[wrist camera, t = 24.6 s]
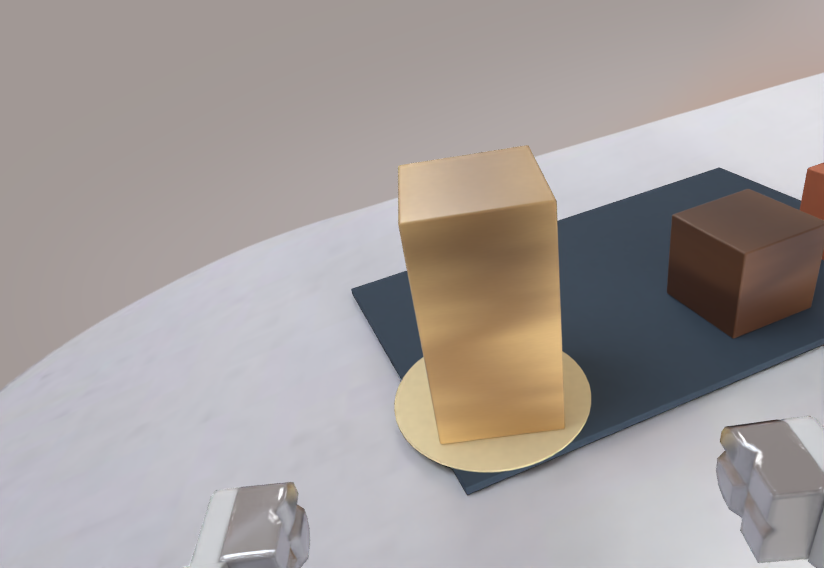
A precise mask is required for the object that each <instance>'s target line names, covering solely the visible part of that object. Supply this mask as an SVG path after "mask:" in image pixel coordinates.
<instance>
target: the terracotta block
mask: <svg viewBox="0 0 824 568" xmlns="http://www.w3.org/2000/svg"><path fill="white" fill-rule="evenodd" d="M800 211H803V212H805V213H807V214H810V215H812V216H814V217H817V218H819V219H821V220H824V163H821V164H818V165H815V166H812V167H810V168H808V169H807V174H806V179H805V185H804V190H803V195H802V200H801V206H800ZM822 260H824V250H823V255H822Z"/></svg>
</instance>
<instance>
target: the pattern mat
mask: <svg viewBox="0 0 824 568" xmlns="http://www.w3.org/2000/svg"><path fill="white" fill-rule="evenodd" d="M746 189H751V190H753V191H755V192H758V193H760V194H762V195H765V196H767V197H769V198H772V199H774V200H777V201H779V202H781V203H784V204H786V205H788V206H791V207H793V208H795V209H798V210H800V206H801V201H800V200H798V199H795V198H793V197H791V196H788V195H786V194H783V193H781V192H778V191H776V190H773V189H771V188H768V187H766V186H764V185H761V184H759V183H756V182H754V181H751V180H749V179H746V178H744V177H742V176H739V175H737V174H734V173H732V172H729V171H727V170H724V169H722V168H716V169H713V170H710V171H707V172H704V173H701V174H698V175H695V176H692V177H689V178H686V179H683V180H680V181H677V182H674V183H671V184H668V185H665V186H662V187H659V188H656V189H653V190H650V191H647V192H644V193H641V194H638V195H635V196H632V197H629V198H626V199H623V200H620V201H616V202H613V203H610V204H607V205H604V206H601V207H598V208H595V209H592V210H589V211H586V212H583V213H580V214H577V215H574V216H571V217H568V218H565V219H562V220H559V221H557V226H558V252H559V278H560V304H561V330H562V356H563V382H564V408H565V428H564V429H559V430H551V431H543V432H535V433H527V434H519V435H511V436H503V437H496V438H488V439H480V440H472V441H464V442H456V443H448V444H440V442H439V436H438V431H437V426H436V421H435V415H434V410H433V405H432V400H431V394H430V389H429V384H428V378H427V373H426V368H425V363H424V357H423V352H422V347H421V341H420V336H419V331H418V326H417V320H416V315H415V310H414V305H413V299H412V294H411V289H410V283H409V278H408V273H407V271H404V272H401V273H398V274H395V275H392V276H389V277H386V278H383V279H380V280H377V281H374V282H371V283H368V284H365V285H362V286H359V287H356V288H353V289H352V294H353V296H354V298H355V299H356V301H357V303H358V305H359V306H360V308H361V310H362V312H363V313H364V315H365V317H366V319H367V320H368V322H369V324H370V326H371V327H372V329H373V331H374V333H375V334H376V336H377V338H378V340H379V341H380V343H381V345H382V347H383V348H384V350H385V352H386V354H387V356H388V357H389V359H390V361H391V363H392V364H393V366H394V368H395V370H396V371H397V373H398V375H399V377H400V378H401V380H402V381H401V383H400V385H399V387H398V390H397V393H396V397H395V403H394V405H395V416H396V421H397V424H398V426H399V429H400V431H401V432H402V434H403V436H404V437H405V439H406V440H407V441H408V442H409V443H410V444H411V445H412V447H414V448H415V449H416V450H417V451H419V452H420V453H421V454H423V455H424V456H426V457H428V458H429V459H431V460H433V461H435V462H438V463H440V464H442V465H445V466H448V467H451V468H452V470H453V471H454V473H455V475H456V477H457V478H458V480H459V482H460V484H461V485H462V487H463V489H464V491H465V492H466V494H467V495H468V494H471V493H473V492H475V491H478V490H480V489H482V488H485V487H487V486H489V485H492V484H494V483H497V482H499V481H501V480H504V479H506V478H508V477H511V476H513V475H515V474H518V473H520V472H523V471H525V470H527V469H530V468H532V467H534V466H537V465H539V464H542V463H544V462H546V461H549V460H551V459H553V458H556V457H558V456H560V455H563V454H565V453H568V452H570V451H572V450H575V449H577V448H579V447H582V446H584V445H586V444H589V443H591V442H594V441H596V440H598V439H601V438H603V437H605V436H608V435H610V434H612V433H615V432H617V431H620V430H622V429H624V428H627V427H629V426H631V425H634V424H636V423H638V422H641V421H643V420H646V419H648V418H650V417H653V416H655V415H657V414H660V413H662V412H665V411H667V410H669V409H672V408H674V407H676V406H679V405H681V404H683V403H686V402H688V401H691V400H693V399H695V398H698V397H700V396H702V395H705V394H707V393H709V392H712V391H714V390H717V389H719V388H721V387H724V386H726V385H728V384H731V383H733V382H735V381H738V380H740V379H743V378H745V377H747V376H750V375H752V374H754V373H757V372H759V371H761V370H764V369H766V368H769V367H771V366H773V365H776V364H778V363H780V362H783V361H785V360H788V359H790V358H792V357H795V356H797V355H799V354H802V353H804V352H806V351H809V350H811V349H814V348H816V347H818V346H821V345H823V344H824V260H821V264H820V269H819V273H818V278H817V282H816V287H815V291H814V296H813V301H812V305H811V307H810V308H808V309H806V310H803V311H801V312H798V313H796V314H793V315H791V316H788V317H786V318H783V319H781V320H778V321H776V322H774V323H771V324H769V325H766V326H764V327H761V328H759V329H756V330H754V331H751V332H749V333H746V334H744V335H741V336H739V337H736V338H731V337H730V336H729V335H727V334H726V333H724V332H723V331H721V330H720V329H718V328H717V327H716V326H714V325H713V324H711V323H710V322H708V321H707V320H705V319H704V318H703V317H701V316H700V315H698V314H697V313H695V312H694V311H692V310H691V309H689V308H688V307H687V306H685V305H684V304H682V303H681V302H679V301H678V300H676V299H675V298H674V297H672V296H671V295H669V294H668V293H667V280H668V265H669V251H670V237H671V222H672V215H673V214H676V213H679V212H682V211H684V210H687V209H690V208H693V207H696V206H699V205H702V204H705V203H708V202H711V201H714V200H717V199H719V198H722V197H725V196H728V195H731V194H734V193H737V192H740V191H743V190H746Z"/></svg>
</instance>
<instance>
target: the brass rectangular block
mask: <svg viewBox="0 0 824 568" xmlns="http://www.w3.org/2000/svg"><path fill="white" fill-rule="evenodd" d="M398 225H399V231H400V236H401V241H402V246H403V252H404V257H405V262H406V268H407V273H408V278H409V283H410V289H411V294H412V299H413V305H414V310H415V315H416V320H417V326H418V331H419V336H420V341H421V347H422V352H423V357H424V363H425V368H426V373H427V378H428V384H429V389H430V394H431V400H432V405H433V410H434V415H435V421H436V426H437V431H438V436H439V442H440V444H448V443H456V442H464V441H472V440H480V439H488V438H496V437H503V436H511V435H519V434H527V433H535V432H543V431H551V430H559V429H564V428H565V408H564V382H563V356H562V330H561V304H560V278H559V252H558V226H557V201H556V199H555V197H554V195H553V193H552V191H551V189H550V187H549V185H548V183H547V181H546V179H545V177H544V175H543V173H542V171H541V170H540V168H539V166H538V164H537V162H536V160H535V158H534V156H533V154H532V152H531V150H530V148H529V146H520V147H513V148H507V149H501V150H494V151H488V152H481V153H475V154H469V155H462V156H456V157H450V158H443V159H437V160H431V161H425V162H418V163H411V164H405V165H400V166H399V167H398Z"/></svg>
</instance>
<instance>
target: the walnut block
mask: <svg viewBox="0 0 824 568" xmlns="http://www.w3.org/2000/svg"><path fill="white" fill-rule="evenodd" d="M823 250H824V220H821V219H819V218H817V217H814V216H812V215H810V214H807V213H805V212H803V211H800V210H798V209H795V208H793V207H791V206H788V205H786V204H784V203H781V202H779V201H777V200H774V199H772V198H769V197H767V196H765V195H762V194H760V193H758V192H755V191H753V190H751V189H746V190H743V191H740V192H737V193H734V194H731V195H728V196H725V197H722V198H719V199H717V200H714V201H711V202H708V203H705V204H702V205H699V206H696V207H693V208H690V209H687V210H684V211H682V212H679V213H676V214H673V215H672V222H671V237H670V251H669V265H668V280H667V293H668V294H669V295H671V296H672V297H674V298H675V299H676V300H678V301H679V302H681V303H682V304H684V305H685V306H687V307H688V308H689V309H691V310H692V311H694V312H695V313H697V314H698V315H700V316H701V317H703V318H704V319H705V320H707V321H708V322H710V323H711V324H713V325H714V326H716V327H717V328H718V329H720V330H721V331H723V332H724V333H726V334H727V335H729V336H730V337H731V338H736V337H739V336H741V335H744V334H746V333H749V332H751V331H754V330H756V329H759V328H761V327H764V326H766V325H769V324H771V323H774V322H776V321H778V320H781V319H783V318H786V317H788V316H791V315H793V314H796V313H798V312H801V311H803V310H806V309H808V308H810V307H811V305H812V301H813V296H814V291H815V287H816V282H817V278H818V273H819V269H820V264H821V260H822V255H823Z"/></svg>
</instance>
